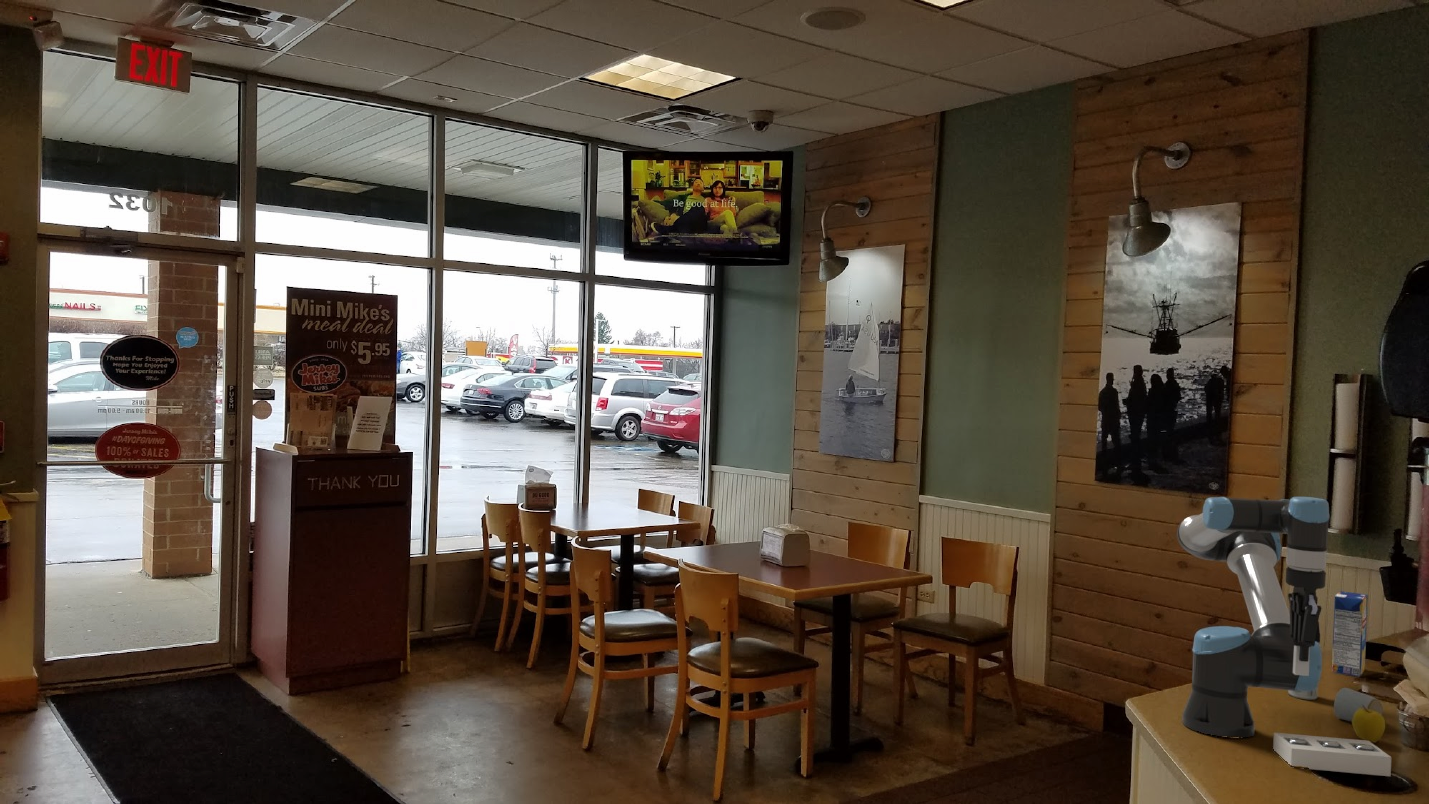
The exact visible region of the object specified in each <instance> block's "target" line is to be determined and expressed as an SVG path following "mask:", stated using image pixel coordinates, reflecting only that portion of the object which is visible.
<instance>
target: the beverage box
mask: <svg viewBox="0 0 1429 804" xmlns="http://www.w3.org/2000/svg"><path fill="white" fill-rule="evenodd" d="M1368 595H1369V594H1364V593H1359V592H1358V593H1356V592H1349V591H1342V590H1340V591H1338V593H1336V594H1335V595H1334V606H1333V607H1334V608H1333V609H1334V610H1333V629H1332V634H1333V635H1332V657H1331V673H1335V674H1338V675H1339V674H1340V675H1344V676H1345V675H1346V676H1349V677H1350V676H1352V677H1356V678H1360V677H1361V676H1362V675H1363V673H1364V671H1365V669H1366V664H1365V663H1366V646H1367V625H1368V624H1367V620H1368V619H1367V617H1368Z"/></svg>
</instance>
